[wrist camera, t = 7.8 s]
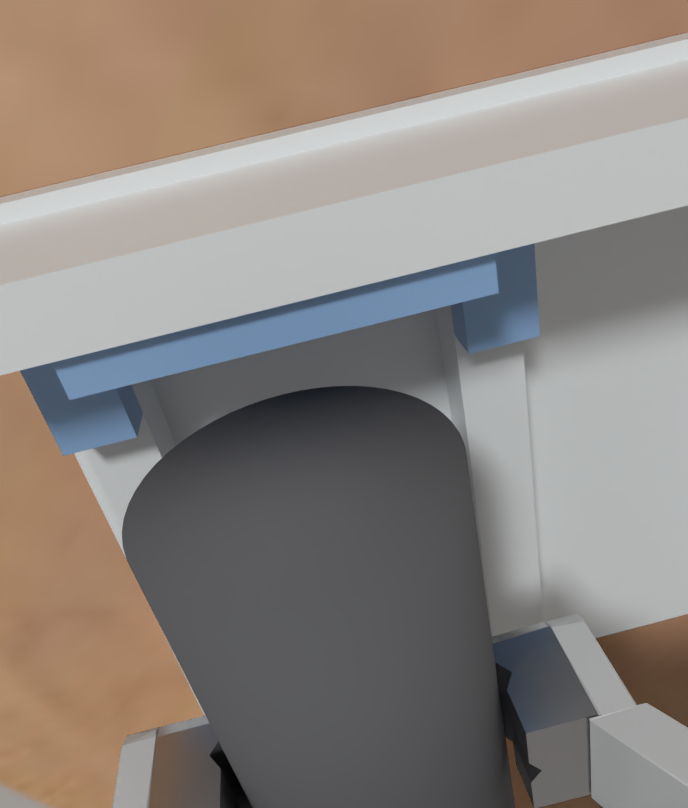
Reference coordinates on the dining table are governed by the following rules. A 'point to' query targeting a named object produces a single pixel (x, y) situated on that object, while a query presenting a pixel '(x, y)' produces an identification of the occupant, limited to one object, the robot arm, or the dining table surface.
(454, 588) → the gray roller in tray
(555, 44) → the dining table surface
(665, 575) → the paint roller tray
